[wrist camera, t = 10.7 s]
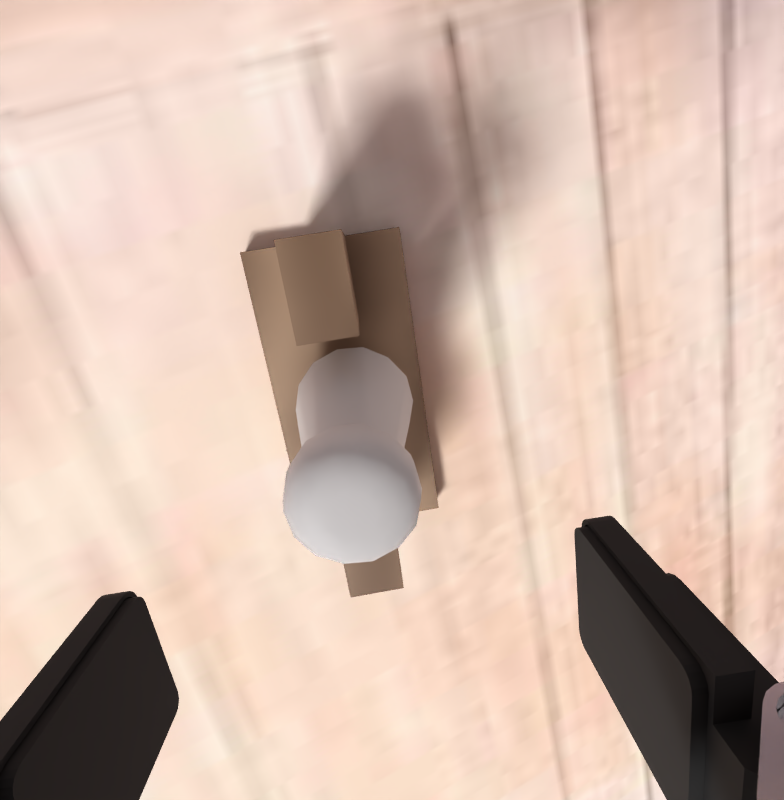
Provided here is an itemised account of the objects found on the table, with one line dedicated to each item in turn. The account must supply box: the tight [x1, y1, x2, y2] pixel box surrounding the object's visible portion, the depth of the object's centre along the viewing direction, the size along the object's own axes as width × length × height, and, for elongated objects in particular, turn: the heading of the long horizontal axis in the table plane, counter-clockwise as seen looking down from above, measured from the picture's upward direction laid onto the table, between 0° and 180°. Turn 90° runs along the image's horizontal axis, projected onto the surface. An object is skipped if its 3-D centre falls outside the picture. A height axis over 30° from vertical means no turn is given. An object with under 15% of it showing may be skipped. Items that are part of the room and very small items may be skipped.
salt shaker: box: [283, 347, 422, 564], centre depth 20 cm, size 6×6×13 cm
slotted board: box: [240, 227, 439, 597], centre depth 24 cm, size 8×16×8 cm, turn 9°
